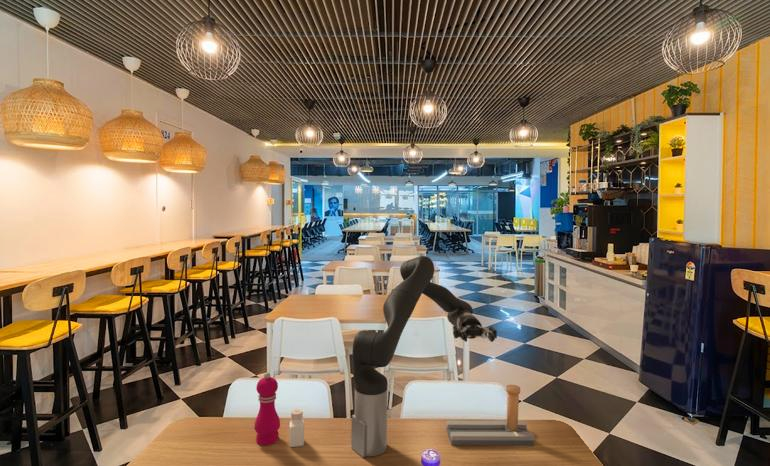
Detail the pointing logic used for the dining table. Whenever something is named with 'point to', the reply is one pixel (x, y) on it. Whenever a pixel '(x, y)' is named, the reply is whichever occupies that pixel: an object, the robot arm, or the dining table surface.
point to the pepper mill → (267, 411)
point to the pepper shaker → (296, 428)
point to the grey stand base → (487, 433)
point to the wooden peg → (512, 408)
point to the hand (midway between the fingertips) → (479, 338)
